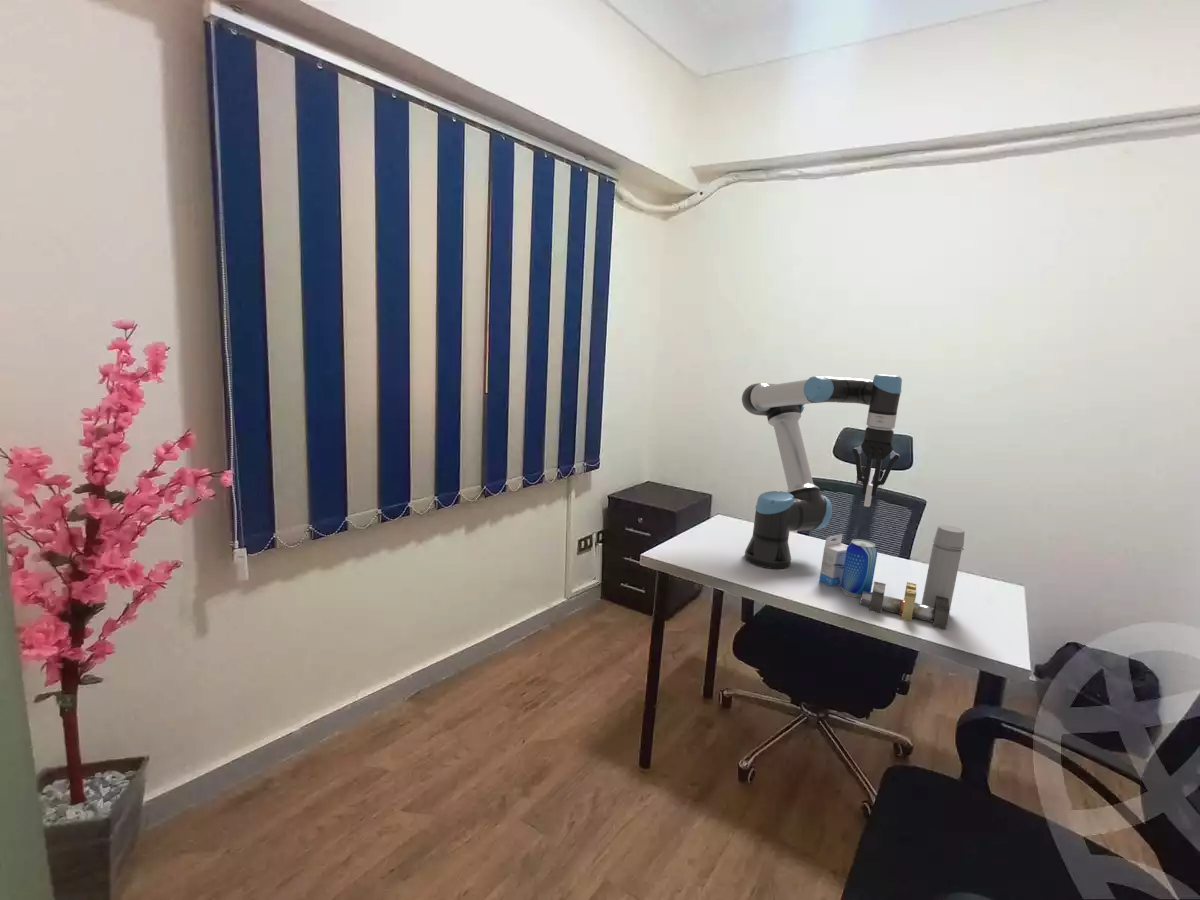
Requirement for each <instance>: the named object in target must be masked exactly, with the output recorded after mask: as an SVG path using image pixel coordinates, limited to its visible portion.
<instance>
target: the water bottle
mask: <svg viewBox="0 0 1200 900" xmlns="http://www.w3.org/2000/svg"><path fill="white" fill-rule="evenodd" d="M934 535H935V536H934V537H933V540H932V542H933V544H932V548H931V552H930V558H929V564H928V569H927V575H926V580H925V585H924V590H923V594H922V601H921V604H922V605H926V606H930V607H934V604H935V599H936V596H940V597H944V598H948V600H949V608H950V610H949V612H950V611H951V607H952V602H953V596H954V591H955V587H956V582H957V581H956V579H957V575H958V570H959V567H960V561H961V555H962V551H964V550H965V548H964V543H965V530H964V529H962V528H960V527H957V526H955V525H954V526H953V525H946V524H940V525H938V526H937V529H936V532H935V534H934Z"/></svg>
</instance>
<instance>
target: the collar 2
mask: <svg viewBox="0 0 1200 900" xmlns="http://www.w3.org/2000/svg"><path fill="white" fill-rule="evenodd" d="M934 608H936V611H935V616H934V621H933V622H932V627H933V628H936V629H941V630H945V631H946V628H947V626H948V625H947V620H948V615H949V616H950V613H949V610H950V611H951V607H950V608H949V600H948V598H944V597H940V596H936V599H935V604H934ZM946 625H947V626H946Z"/></svg>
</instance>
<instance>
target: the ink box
mask: <svg viewBox="0 0 1200 900" xmlns="http://www.w3.org/2000/svg"><path fill="white" fill-rule="evenodd" d="M842 539H843V534H842V533H840V534H836V535H831V536H830V535H829V536H827V537H826V538H825V543H824V548H823V555H822V559H821V566H820V567H821V568H820V573H819V580H818V581H819V582H821V583H822V584H826V585H827V586H830V587H835V586H839V585H840V586H841V582H842V576H843V570H844V563H845V557H846V551H847V547H848V544H845V543H842Z"/></svg>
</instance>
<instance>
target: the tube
mask: <svg viewBox="0 0 1200 900" xmlns="http://www.w3.org/2000/svg"><path fill="white" fill-rule="evenodd" d="M872 592H873V591H871V592H868V591H864V590H863V592H862V597H861V598H860V605H863V606H867V607H870V603H871V597H872ZM904 602H905V600H904V599H901V598H896V597H892V596H888V595H884V598H883V604H882V609H881V611H882V610H883V611H886V612H887V611H888V612H890V613H895V614H898V615H902V613H903V607H904ZM935 611H936V608H934V607H930V606H926V605H922V603H918V602H915V604H914V609H913V614H912V618H916V619H919V620H923V621H927V622H931V623H933V621H934V616H935ZM949 621H950V612H949V615H948V620H947V625H946V627H947V626H948V625H949Z"/></svg>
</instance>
